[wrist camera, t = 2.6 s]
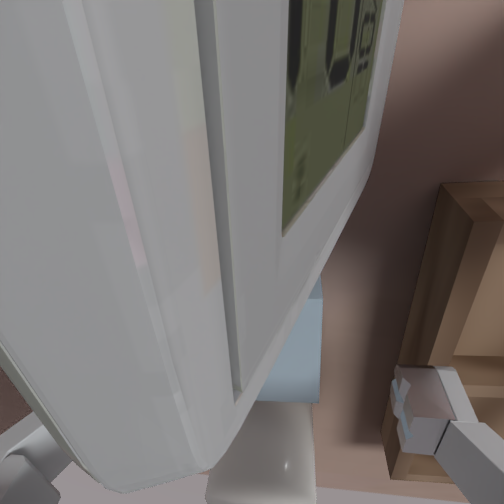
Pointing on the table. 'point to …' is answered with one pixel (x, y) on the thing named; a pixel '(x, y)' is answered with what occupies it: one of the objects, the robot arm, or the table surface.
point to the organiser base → (457, 314)
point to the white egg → (268, 458)
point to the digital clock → (173, 208)
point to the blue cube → (299, 357)
